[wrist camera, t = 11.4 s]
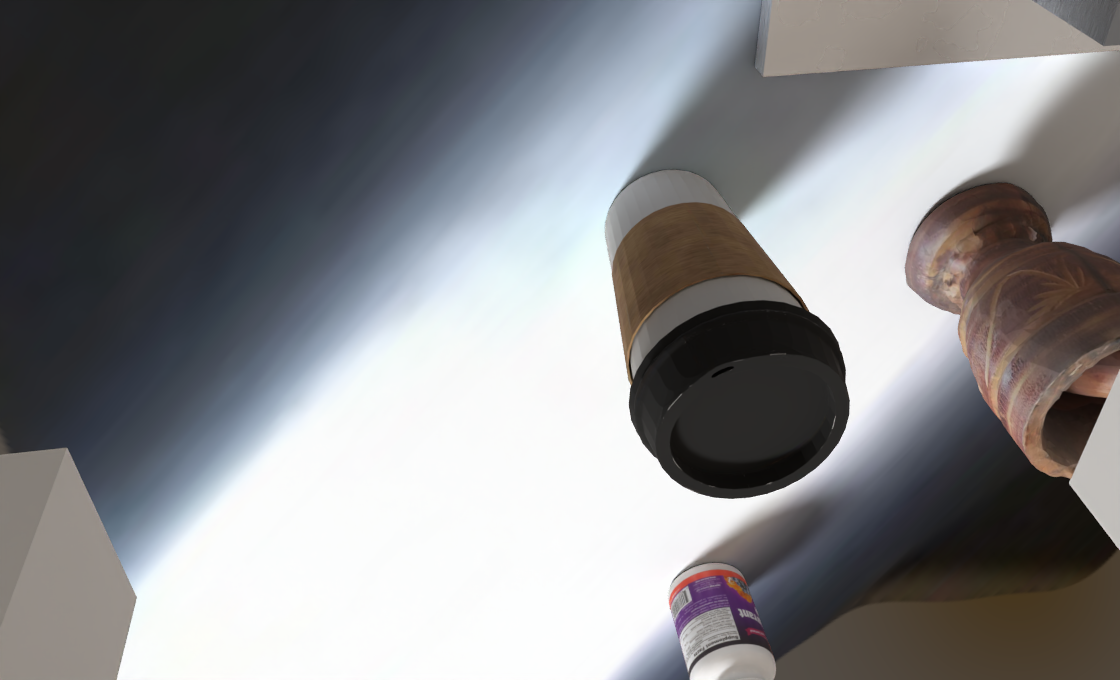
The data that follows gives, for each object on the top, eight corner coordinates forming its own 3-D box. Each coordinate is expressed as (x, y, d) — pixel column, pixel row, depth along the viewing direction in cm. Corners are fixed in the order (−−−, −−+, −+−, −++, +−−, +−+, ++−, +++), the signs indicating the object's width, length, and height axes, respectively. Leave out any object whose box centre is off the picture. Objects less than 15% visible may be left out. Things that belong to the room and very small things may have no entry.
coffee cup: (713, 112, 43) (832, 306, 32) (770, 247, 49) (892, 457, 37) (548, 196, 45) (604, 411, 33) (621, 319, 50) (692, 543, 38)
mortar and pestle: (994, 91, 45) (1317, 359, 29) (1130, 140, 48) (1491, 409, 32) (864, 288, 51) (1074, 596, 35) (991, 322, 54) (1237, 621, 38)
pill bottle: (754, 592, 66) (801, 722, 59) (682, 620, 67) (719, 752, 60) (730, 549, 63) (777, 680, 55) (654, 579, 64) (691, 713, 56)
